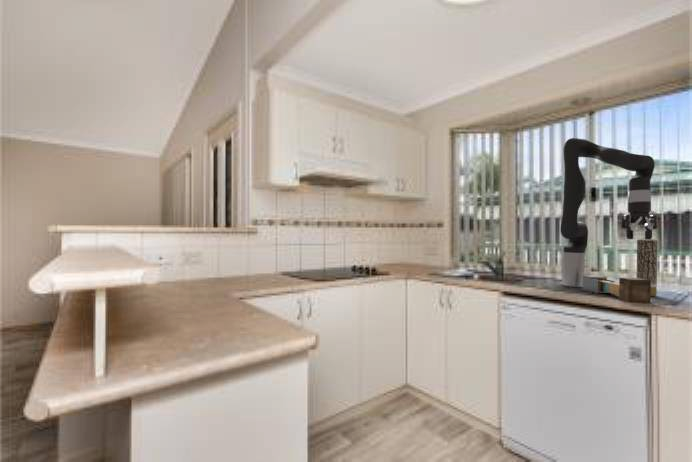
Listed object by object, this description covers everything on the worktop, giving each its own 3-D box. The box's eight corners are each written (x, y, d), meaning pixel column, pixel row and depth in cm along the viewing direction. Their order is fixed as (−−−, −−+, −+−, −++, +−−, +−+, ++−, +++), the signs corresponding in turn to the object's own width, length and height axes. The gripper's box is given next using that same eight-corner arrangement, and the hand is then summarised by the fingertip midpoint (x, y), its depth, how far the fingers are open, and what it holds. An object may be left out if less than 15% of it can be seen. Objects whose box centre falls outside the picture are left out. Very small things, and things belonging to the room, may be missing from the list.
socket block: (619, 299, 139) (619, 277, 139) (639, 299, 139) (639, 278, 139) (629, 302, 134) (629, 279, 134) (650, 302, 134) (650, 279, 134)
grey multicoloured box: (582, 289, 161) (582, 275, 161) (598, 290, 161) (598, 275, 161) (597, 293, 151) (597, 278, 151) (614, 294, 151) (614, 278, 151)
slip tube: (588, 288, 160) (588, 278, 160) (596, 288, 160) (596, 278, 160) (620, 295, 141) (620, 285, 141) (630, 296, 141) (630, 285, 141)
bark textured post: (660, 297, 146) (661, 239, 146) (642, 296, 148) (643, 239, 148) (649, 294, 153) (650, 239, 153) (632, 293, 154) (633, 238, 154)
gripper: (645, 202, 149) (645, 239, 149) (616, 201, 148) (616, 238, 147) (663, 201, 142) (663, 239, 141) (632, 200, 140) (632, 239, 140)
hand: (639, 239), depth 144 cm, fingers open, 8 cm apart
